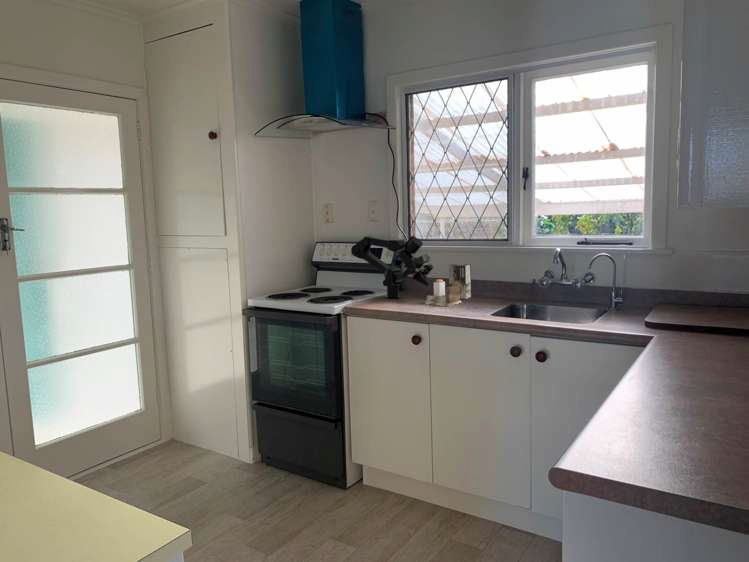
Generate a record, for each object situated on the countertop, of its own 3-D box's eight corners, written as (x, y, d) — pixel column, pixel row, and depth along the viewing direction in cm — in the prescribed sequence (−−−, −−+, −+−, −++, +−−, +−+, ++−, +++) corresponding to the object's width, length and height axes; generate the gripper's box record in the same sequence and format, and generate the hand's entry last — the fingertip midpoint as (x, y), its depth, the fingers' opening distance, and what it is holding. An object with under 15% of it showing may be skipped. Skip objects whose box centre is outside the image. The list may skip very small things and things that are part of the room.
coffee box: (471, 297, 285) (471, 264, 282) (466, 299, 279) (465, 265, 277) (454, 295, 289) (454, 263, 287) (448, 297, 284) (448, 264, 282)
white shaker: (432, 300, 270) (432, 280, 268) (438, 298, 274) (438, 278, 272) (440, 301, 267) (440, 280, 266) (446, 299, 271) (446, 279, 269)
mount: (425, 304, 269) (424, 286, 268) (438, 300, 277) (438, 283, 276) (447, 306, 261) (447, 288, 260) (461, 303, 269) (461, 285, 268)
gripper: (406, 250, 268) (426, 276, 262) (430, 247, 282) (449, 271, 276) (393, 266, 274) (412, 292, 268) (417, 262, 288) (435, 286, 282)
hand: (428, 285), depth 273 cm, fingers closed
